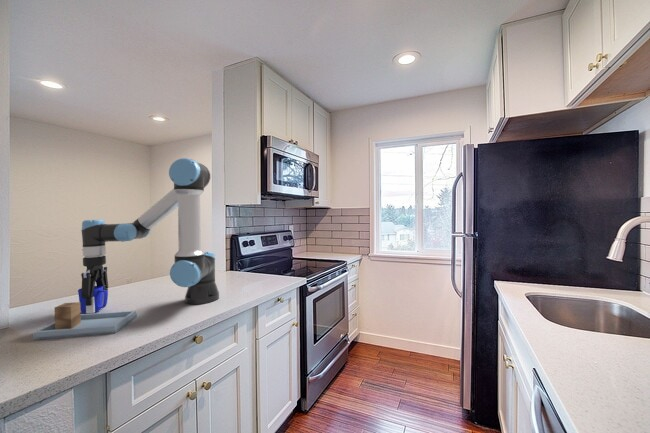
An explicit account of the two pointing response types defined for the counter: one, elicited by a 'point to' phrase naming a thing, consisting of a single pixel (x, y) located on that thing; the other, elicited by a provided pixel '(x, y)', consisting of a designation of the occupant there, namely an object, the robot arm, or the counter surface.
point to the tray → (89, 325)
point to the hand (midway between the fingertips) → (96, 309)
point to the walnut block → (67, 315)
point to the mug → (97, 299)
